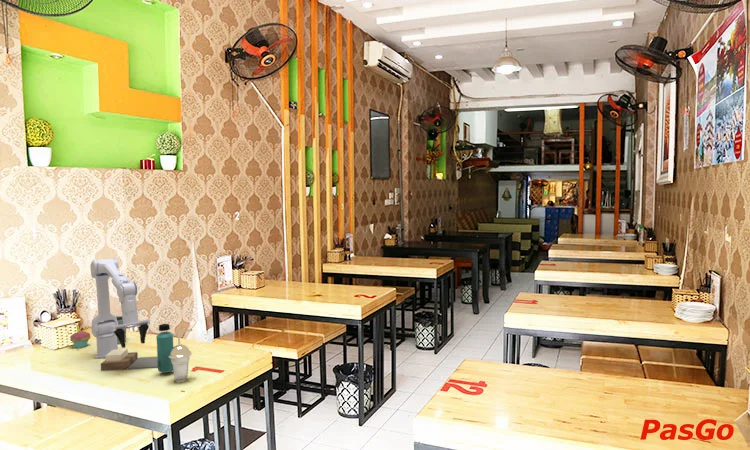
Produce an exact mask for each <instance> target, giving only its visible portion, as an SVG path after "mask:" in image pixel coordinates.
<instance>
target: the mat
mask: <svg viewBox="0 0 750 450" xmlns="http://www.w3.org/2000/svg"><path fill="white" fill-rule="evenodd" d="M157 360H158V357H157V356H142V357H141V356H140V357H138V359H137V360H136V361H135V362H134V363H133V364H131V365H130V366H129V367H128V369H127V370H139V369H141V370H142V369H144V370H145V369H158V364H157V363H158V362H157Z"/></svg>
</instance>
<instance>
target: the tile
mask: <svg viewBox="0 0 750 450" xmlns="http://www.w3.org/2000/svg"><path fill="white" fill-rule="evenodd" d="M128 353H129V351H128V348H120V349H119V348H118V349H117V350H112V351H111V352H109V353H108V354H107V355H106V357H105V360H106V361H121V360H122V359H123V358H125V357H126V356H127V355H128Z"/></svg>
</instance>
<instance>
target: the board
mask: <svg viewBox="0 0 750 450" xmlns="http://www.w3.org/2000/svg"><path fill="white" fill-rule="evenodd" d="M138 356H139V355H138V352H137V351H133V352H128V355H127V356H126V357H125V358H123V359H122V360H121V361H106V359H105V360H103V361H102V362H100V372H104V371H105V372H107V371H125V370H126V371H127V370H129V369H128V367H129V366H130V365H131V364H133V363H134V362H135V361H136V360H137V359H138V358H139V357H138Z"/></svg>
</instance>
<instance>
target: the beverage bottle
mask: <svg viewBox="0 0 750 450" xmlns="http://www.w3.org/2000/svg"><path fill="white" fill-rule="evenodd" d="M170 329H171V328H170V324H169V323H162V324H159V325H158V331H159V333H158V334H157V335H156V337H155V338H156V352H157V354H156V355H157V356H156V357H158V360H157V362H158V363H157V364H158V368H157V371H158V372H159V373H169V372H173V367H172V363H171V358H169V357H168V356H169V354H170V352H171V350H172V348H173V347H174V334H173V333H172V332H171V331H169V330H170Z"/></svg>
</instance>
